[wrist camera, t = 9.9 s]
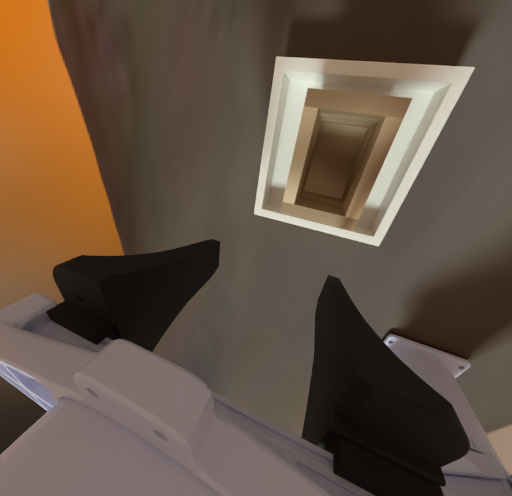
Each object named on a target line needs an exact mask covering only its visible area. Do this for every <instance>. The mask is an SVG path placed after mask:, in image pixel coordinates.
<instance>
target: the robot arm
mask: <svg viewBox="0 0 512 496" xmlns="http://www.w3.org/2000/svg"><path fill="white" fill-rule="evenodd" d="M219 252H220V242H219V241H216V240H213V239H211V240H206V241H202V242H199V243H195V244H191V245H188V246H184V247H180V248H176V249H172V250H167V251H162V252H156V253H149V254H139V255H127V256H85V255H82V256H78V257H76V258H73V259H71V260H69V261H66V262H64V263H61V264H59V265H57V266H55V267H54V270H53V277H54V280H55V282H56V284H57V286H58V288H59V290H60V292H61V294H62V296H63V298H64V300H65V301H64V302H62V303H60V304H58V305H57V303H55V301H53V300H52V299H50V298H48V297H46V296H43V295H42V294H39V293H35V294H33V295H31V296H29V297H27V298H25V299H22V300H21V301H18V302H16V303H14V304H12V305H10V306H8V307H6V308H4V309H2V310H0V376H1V377H3V378H4V379H6V380H7V381H8V382H10V383H11V384H12V385H14V386H15V387H16V388H18V389H19V390H20V391H22V392H23V393H24V394H26V395H27V396H28V397H30V398H31V399H32V400H33V401H35V402H36V403H37V404H39V405H40V406H41V407H43V408H44V409H45V410H47V411H48V412H47V413H46V414H45V415H43V417H41V418H40V419H39V420H38V421H37V422H36V423H35V424H34V425H33V426H31V427H30V428H29V429H28V430H27V431H26V432H25V433H24V434H23V435H22V436H21V437H19V438H18V439H17V440H16V441H15V442H14V443H13V444H12V445H11V446H10V447H8V448H7V449H6V450H5V451H4V452H3V453H2V454H1V455H0V496H512V475H510V474H509V473H508V472H507V471H506V469H505V468H504V466H503V464H502V463H501V461H500V459H499V457H498V455H497V453H496V451H495V450H494V448H493V446H492V444H491V443H490V441H489V439H488V437H487V435H486V433H485V431H484V430H483V428H482V426H481V424H480V422H479V421H478V419H477V417H476V415H475V413H474V412H473V410H472V408H471V406H470V404H469V402H468V401H467V399H466V397H465V395H464V393H463V392H462V390H461V388H460V386H459V384H458V383H457V381H456V379H455V378H456V377H458V376H459V375H460V374H461V373H463V372H464V371H465V370H467V369H468V368H469V367H470V366H471V364H470V363H469V361H468V360H466V359H463V358H460V357H457V356H454V355H451V354H449V353H446V352H443V351H440V350H437V349H434V348H431V347H429V346H426V345H423V344H420V343H417V342H414V341H412V340H409V339H406V338H403V337H400V336H397V335H395V334H389V335H388V336H387V337H386V338H385V339H384V341H382V340H381V339H380V338H379V337H378V335H377V334H376V333H375V332H374V331H373V329H372V328H371V327H370V326H369V325H368V323H367V322H366V321H365V319H364V318H363V317H362V315H361V314H360V312H359V311H358V309H357V308H356V306H355V305H354V303H353V302H352V300H351V299H350V297H349V295H348V294H347V292H346V290H345V288H344V286H343V285H342V283H341V281H340V279H339V278H336V277H333V276H329V275H328V277H327V279H326V282H325V284H324V287H323V289H322V291H321V294H320V296H319V299H318V302H317V308H316V314H315V347H314V361H313V368H312V376H311V383H310V390H309V396H308V403H307V409H306V415H305V421H304V427H303V433H302V438H300V437H299V436H297V435H295V434H293V433H291V432H289V431H287V430H285V429H283V428H281V427H279V426H277V425H275V424H273V423H272V422H270V421H268V420H266V419H264V418H262V417H260V416H258V415H256V414H254V413H252V412H250V411H248V410H246V409H244V408H243V407H241V406H239V405H237V404H235V403H233V402H231V401H229V400H227V399H225V398H223V397H221V396H219V395H217V394H216V393H214V392H212V391H211V390H210V389H209V388H208V387H207V386H206V384H205V383H204V382H203V381H202V380H201V379H200V378H198V377H197V376H195V375H194V374H192V373H191V372H189V371H187V370H186V369H184V368H182V367H180V366H178V365H176V364H174V363H172V362H170V361H168V360H166V359H164V358H162V357H160V356H158V355H156V354H154V353H152V351H153V350H154V348H155V347H156V345H157V344H158V342H159V341H160V339H161V338H162V336H163V335H164V333H165V332H166V330H167V329H168V327H169V326H170V325H171V323H172V322H173V320H174V319H175V318H176V316H177V315H178V314H179V312H180V311H181V310H182V309H183V307H184V306H185V305H186V303H187V302H188V301H189V300H190V299H191V298H192V297H193V296H194V295H195V294H196V293H197V292H198V291H199V290H200V288H201V287H202V286H203V285H204V284H205V283H206V282H207V281H208V280H209V279H210V278H211V277H212V275H213V274H214V273H215V271H216V270H217V268H218V267H219Z"/></svg>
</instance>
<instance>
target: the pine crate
mask: <svg viewBox="0 0 512 496" xmlns="http://www.w3.org/2000/svg"><path fill="white" fill-rule="evenodd" d="M411 101H412V98H406V97H396V96H385V95H375V94H365V93H355V92H345V91H334V90H324V89H314V88H308V90H307V94H306V99H305V103H304V108H303V112H302V117H301V121H300V126H299V130H298V135H297V139H296V144H295V148H294V153H293V157H292V162H291V166H290V171H289V175H288V180H287V185H286V189H285V194H284V198H283V203H282V207H281V212H280V213H284V214H288V215H292V216H296V217H300V218H304V219H308V220H312V221H315V222H319V223H323V224H327V225H331V226H335V227H339V228H343V229H347V230H351V231H353V230H354V228H355V226H356V224H357V221H358V219H359V217H360V215H361V212H362V210H363V208H364V206H365V204H366V201H367V199H368V197H369V195H370V192H371V190H372V188H373V186H374V183H375V181H376V179H377V177H378V174H379V172H380V170H381V168H382V166H383V163H384V161H385V159H386V157H387V154H388V152H389V150H390V148H391V145H392V143H393V141H394V139H395V136H396V134H397V132H398V130H399V127H400V125H401V123H402V121H403V119H404V116H405V114H406V112H407V110H408V107H409V105H410V103H411Z"/></svg>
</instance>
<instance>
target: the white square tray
mask: <svg viewBox="0 0 512 496" xmlns="http://www.w3.org/2000/svg"><path fill="white" fill-rule="evenodd" d="M474 69H475V67H462V66H444V65H425V64H407V63H388V62H370V61H351V60H333V59H314V58H296V57H278V56H276V62H275V69H274V76H273V83H272V90H271V97H270V104H269V111H268V118H267V125H266V132H265V139H264V146H263V153H262V160H261V167H260V174H259V181H258V188H257V195H256V202H255V210H254V214H256V215H260V216H263V217H267V218H271V219H275V220H279V221H283V222H287V223H290V224H294V225H298V226H302V227H306V228H310V229H313V230H317V231H321V232H325V233H329V234H333V235H337V236H340V237H344V238H348V239H352V240H356V241H360V242H363V243H367V244H371V245H375V246H379V245H380V243H381V241H382V240H383V238H384V236H385V234H386V232H387V230H388V228H389V227H390V225H391V223H392V221H393V219H394V217H395V215H396V214H397V212H398V210H399V208H400V206H401V204H402V202H403V201H404V199H405V197H406V195H407V193H408V191H409V189H410V188H411V186H412V184H413V182H414V180H415V178H416V176H417V175H418V173H419V171H420V169H421V167H422V165H423V163H424V162H425V160H426V158H427V156H428V154H429V152H430V150H431V149H432V147H433V145H434V143H435V141H436V139H437V137H438V135H439V134H440V132H441V130H442V128H443V126H444V124H445V122H446V121H447V119H448V117H449V115H450V113H451V111H452V109H453V108H454V106H455V104H456V102H457V100H458V98H459V96H460V95H461V93H462V91H463V89H464V87H465V85H466V83H467V82H468V80H469V78H470V76H471V74H472V72H473V70H474ZM308 88H314V89H324V90H334V91H345V92H355V93H365V94H375V95H385V96H396V97H406V98H412V101H411V103H410V105H409V107H408V110H407V112H406V114H405V116H404V119H403V121H402V123H401V125H400V127H399V130H398V132H397V134H396V136H395V139H394V141H393V143H392V145H391V148H390V150H389V152H388V154H387V157H386V159H385V161H384V163H383V166H382V168H381V170H380V172H379V174H378V177H377V179H376V181H375V183H374V186H373V188H372V190H371V192H370V195H369V197H368V199H367V201H366V204H365V206H364V208H363V210H362V212H361V215H360V217H359V219H358V221H357V224H356V226H355V228H354V230H353V231H351V230H347V229H343V228H339V227H335V226H331V225H327V224H323V223H319V222H315V221H312V220H308V219H304V218H300V217H296V216H292V215H288V214H284V213H280V212H281V207H282V203H283V198H284V194H285V189H286V185H287V180H288V175H289V171H290V166H291V162H292V157H293V153H294V148H295V144H296V139H297V135H298V130H299V126H300V121H301V117H302V112H303V108H304V103H305V99H306V94H307V90H308Z"/></svg>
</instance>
